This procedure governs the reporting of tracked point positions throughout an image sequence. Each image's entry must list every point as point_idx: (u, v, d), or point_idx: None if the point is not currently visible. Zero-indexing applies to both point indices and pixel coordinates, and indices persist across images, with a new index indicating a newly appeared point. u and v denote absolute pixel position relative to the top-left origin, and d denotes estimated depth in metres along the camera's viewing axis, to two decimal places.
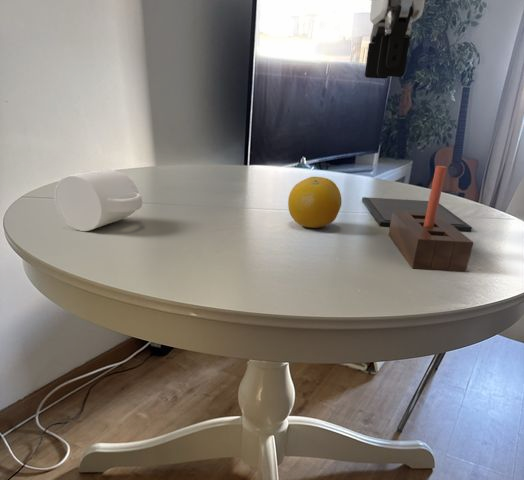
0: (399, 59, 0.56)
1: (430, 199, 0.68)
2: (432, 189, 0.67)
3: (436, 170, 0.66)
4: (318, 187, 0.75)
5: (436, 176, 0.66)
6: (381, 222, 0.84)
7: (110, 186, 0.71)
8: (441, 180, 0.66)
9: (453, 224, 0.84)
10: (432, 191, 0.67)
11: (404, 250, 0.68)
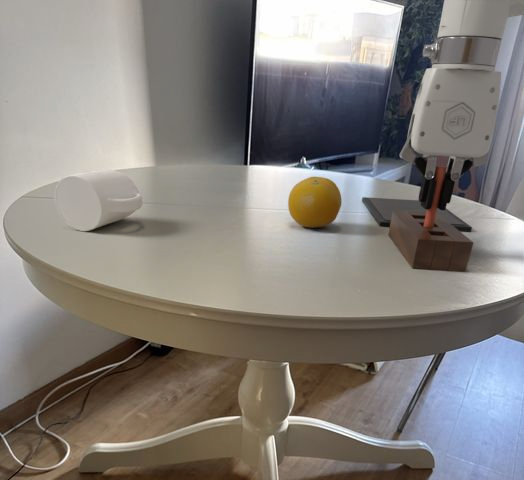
0: (421, 195, 0.67)
1: None
2: None
3: (436, 170, 0.66)
4: (318, 187, 0.75)
5: (436, 176, 0.66)
6: (381, 222, 0.84)
7: (110, 186, 0.71)
8: (441, 180, 0.66)
9: (453, 224, 0.84)
10: None
11: (404, 250, 0.68)
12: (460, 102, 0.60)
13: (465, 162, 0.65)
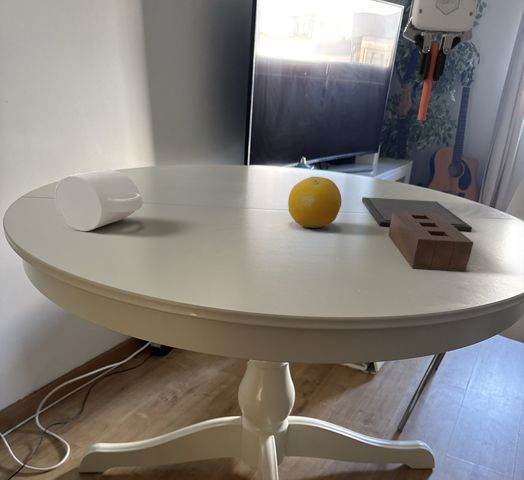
0: (420, 68, 0.84)
1: None
2: None
3: (431, 46, 0.83)
4: (318, 187, 0.75)
5: (432, 51, 0.83)
6: (381, 222, 0.84)
7: (110, 186, 0.71)
8: (435, 55, 0.83)
9: (453, 224, 0.84)
10: None
11: (404, 250, 0.68)
12: None
13: (454, 38, 0.82)
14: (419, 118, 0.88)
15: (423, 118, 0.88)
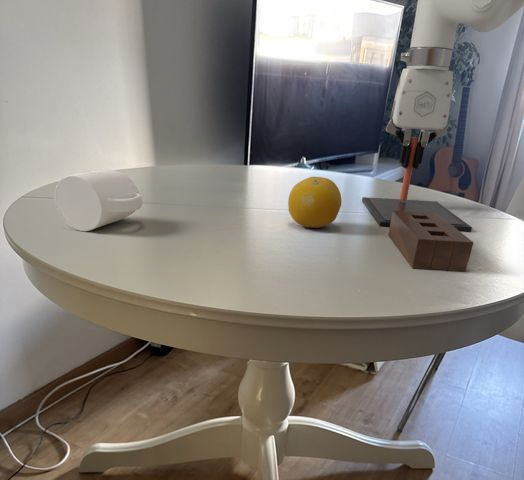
0: (401, 158, 0.95)
1: None
2: None
3: (411, 140, 0.94)
4: (318, 187, 0.75)
5: (411, 144, 0.94)
6: (381, 222, 0.84)
7: (110, 186, 0.71)
8: (414, 147, 0.94)
9: (453, 224, 0.84)
10: None
11: (404, 250, 0.68)
12: (425, 92, 0.88)
13: (431, 134, 0.93)
14: (401, 198, 0.99)
15: (405, 198, 0.99)
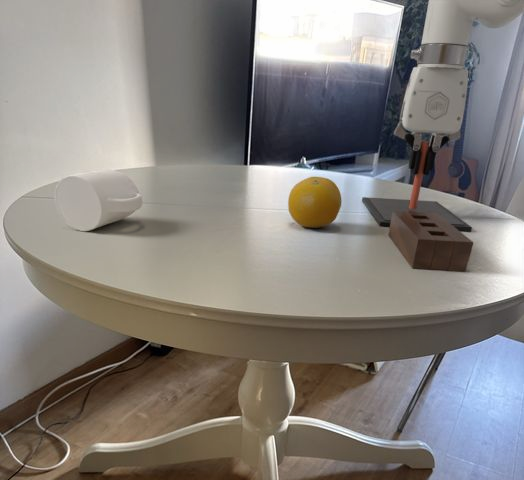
0: (410, 163, 0.88)
1: None
2: None
3: (421, 144, 0.87)
4: (318, 187, 0.75)
5: (422, 149, 0.87)
6: (381, 222, 0.84)
7: (110, 186, 0.71)
8: (425, 152, 0.87)
9: (453, 224, 0.84)
10: None
11: (404, 250, 0.68)
12: (438, 92, 0.81)
13: (443, 138, 0.86)
14: (410, 207, 0.92)
15: (414, 207, 0.92)
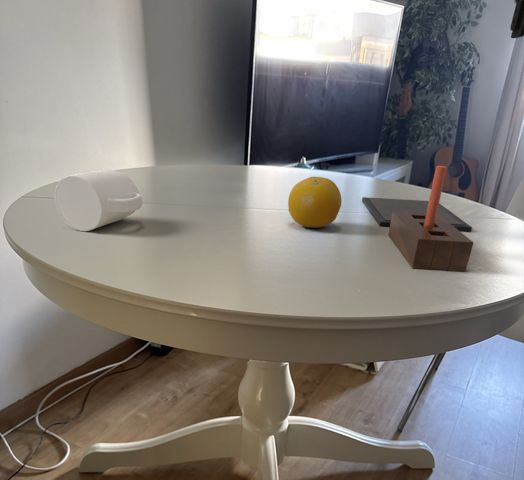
0: (515, 21, 0.66)
1: (430, 199, 0.68)
2: (432, 189, 0.67)
3: (436, 170, 0.66)
4: (318, 187, 0.75)
5: (437, 176, 0.66)
6: (381, 222, 0.84)
7: (110, 186, 0.71)
8: (441, 180, 0.66)
9: (453, 224, 0.84)
10: (432, 191, 0.67)
11: (404, 250, 0.68)
12: None
13: None
14: None
15: None
